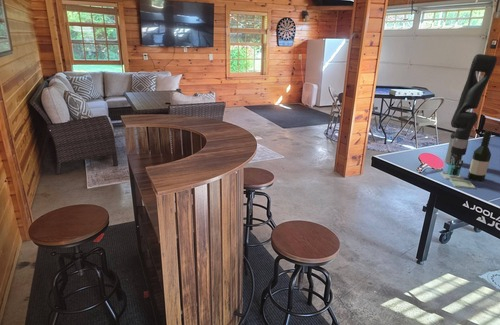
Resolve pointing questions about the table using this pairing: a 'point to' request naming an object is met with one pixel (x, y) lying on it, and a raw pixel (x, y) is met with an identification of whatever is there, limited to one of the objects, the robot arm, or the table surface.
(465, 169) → the table surface
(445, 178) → the grey tray
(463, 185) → the green tray
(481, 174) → the wine bottle
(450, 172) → the teal block
